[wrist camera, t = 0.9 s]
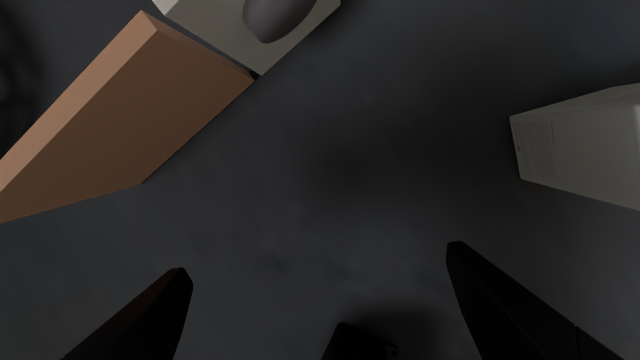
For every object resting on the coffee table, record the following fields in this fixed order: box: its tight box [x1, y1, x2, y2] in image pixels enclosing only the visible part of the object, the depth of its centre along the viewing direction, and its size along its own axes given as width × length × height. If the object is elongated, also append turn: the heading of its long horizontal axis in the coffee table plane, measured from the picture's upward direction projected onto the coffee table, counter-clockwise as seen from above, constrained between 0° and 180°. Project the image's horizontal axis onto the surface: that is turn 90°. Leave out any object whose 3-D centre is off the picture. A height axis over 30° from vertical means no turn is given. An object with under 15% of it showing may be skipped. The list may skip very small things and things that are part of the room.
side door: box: [0, 10, 255, 223], centre depth 19 cm, size 1×15×13 cm, turn 129°
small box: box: [509, 83, 640, 211], centre depth 18 cm, size 8×6×10 cm
